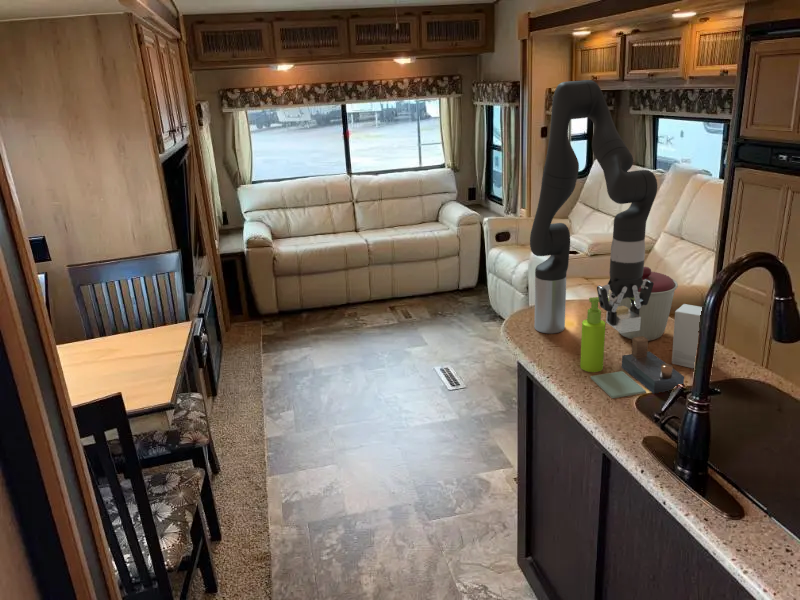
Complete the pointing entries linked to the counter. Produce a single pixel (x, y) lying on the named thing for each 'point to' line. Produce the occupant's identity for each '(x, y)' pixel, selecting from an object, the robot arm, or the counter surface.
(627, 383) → the rubber mat
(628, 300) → the canister
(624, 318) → the lever cap
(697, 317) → the skincare box
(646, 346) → the hand plane
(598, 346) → the soap dispenser
